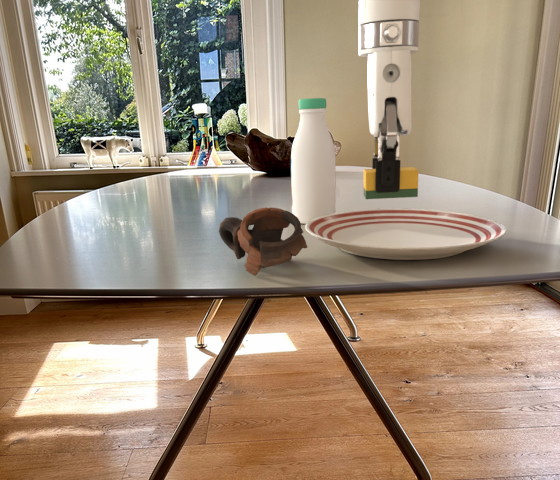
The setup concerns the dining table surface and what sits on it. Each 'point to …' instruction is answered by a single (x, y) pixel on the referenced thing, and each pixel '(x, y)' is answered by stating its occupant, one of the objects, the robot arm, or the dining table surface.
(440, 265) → the dining table surface
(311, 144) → the milk bottle
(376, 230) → the dinner plate
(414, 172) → the sponge
